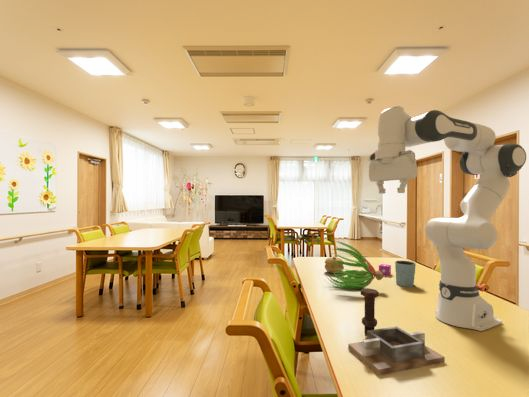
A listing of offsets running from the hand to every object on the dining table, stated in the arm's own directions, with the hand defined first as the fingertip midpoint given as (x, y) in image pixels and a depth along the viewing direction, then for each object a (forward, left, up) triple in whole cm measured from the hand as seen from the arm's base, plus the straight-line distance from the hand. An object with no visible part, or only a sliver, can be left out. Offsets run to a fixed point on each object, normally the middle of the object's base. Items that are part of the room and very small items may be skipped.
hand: (391, 193), depth 102 cm
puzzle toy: (-51, -65, -48) cm, 95 cm away
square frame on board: (+10, +14, -48) cm, 51 cm away
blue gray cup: (-47, -44, -48) cm, 80 cm away
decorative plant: (-16, -47, -48) cm, 69 cm away
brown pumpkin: (-23, -77, -48) cm, 94 cm away
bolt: (+9, +1, -48) cm, 49 cm away
